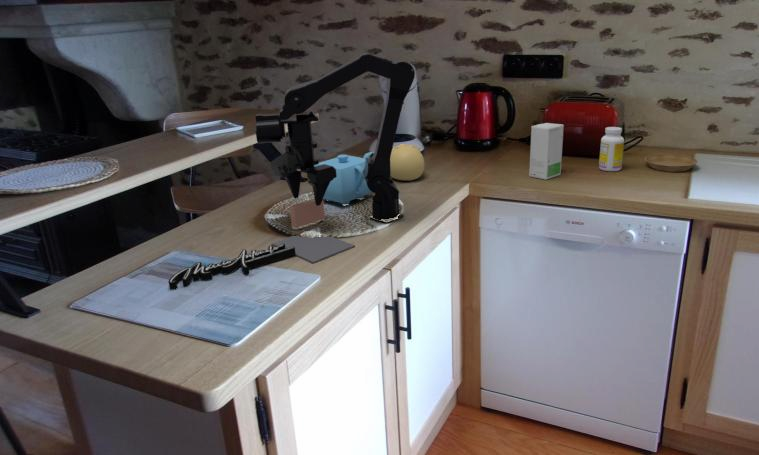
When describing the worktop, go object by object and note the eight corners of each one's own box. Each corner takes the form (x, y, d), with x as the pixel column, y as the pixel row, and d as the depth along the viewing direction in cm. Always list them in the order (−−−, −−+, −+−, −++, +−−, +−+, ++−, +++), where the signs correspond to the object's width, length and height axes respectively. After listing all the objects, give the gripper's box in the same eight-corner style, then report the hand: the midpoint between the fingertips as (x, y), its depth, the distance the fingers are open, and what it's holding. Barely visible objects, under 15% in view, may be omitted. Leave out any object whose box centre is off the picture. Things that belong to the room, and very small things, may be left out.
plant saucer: (645, 173, 177) (646, 164, 176) (641, 160, 190) (642, 152, 189) (700, 175, 172) (701, 166, 171) (692, 162, 185) (693, 154, 184)
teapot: (349, 211, 156) (346, 164, 152) (311, 200, 166) (307, 156, 162) (393, 193, 168) (392, 150, 164) (355, 184, 178) (353, 143, 174)
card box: (320, 219, 152) (318, 197, 149) (325, 221, 150) (323, 198, 148) (291, 229, 146) (289, 206, 144) (296, 230, 144) (294, 208, 142)
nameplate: (175, 289, 113) (160, 273, 121) (176, 296, 114) (162, 279, 121) (300, 250, 127) (280, 238, 135) (301, 257, 128) (281, 244, 136)
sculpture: (416, 171, 189) (415, 138, 186) (430, 180, 179) (429, 146, 175) (382, 175, 186) (381, 142, 182) (394, 185, 176) (393, 150, 172)
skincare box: (545, 180, 173) (549, 128, 168) (527, 176, 178) (529, 126, 172) (561, 174, 178) (565, 124, 173) (543, 170, 183) (546, 121, 178)
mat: (312, 230, 144) (311, 228, 144) (354, 246, 133) (354, 245, 133) (271, 245, 136) (271, 243, 136) (313, 263, 125) (313, 262, 125)
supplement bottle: (622, 167, 183) (626, 126, 178) (619, 172, 177) (624, 131, 173) (600, 165, 186) (603, 125, 181) (596, 171, 180) (600, 129, 176)
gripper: (251, 141, 141) (259, 202, 147) (296, 152, 129) (303, 218, 134) (288, 133, 148) (295, 191, 154) (335, 142, 136) (340, 206, 141)
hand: (307, 201), depth 146 cm, fingers open, 9 cm apart
